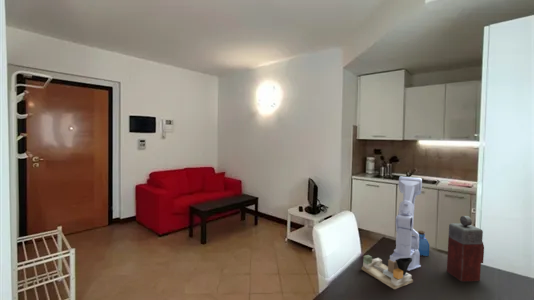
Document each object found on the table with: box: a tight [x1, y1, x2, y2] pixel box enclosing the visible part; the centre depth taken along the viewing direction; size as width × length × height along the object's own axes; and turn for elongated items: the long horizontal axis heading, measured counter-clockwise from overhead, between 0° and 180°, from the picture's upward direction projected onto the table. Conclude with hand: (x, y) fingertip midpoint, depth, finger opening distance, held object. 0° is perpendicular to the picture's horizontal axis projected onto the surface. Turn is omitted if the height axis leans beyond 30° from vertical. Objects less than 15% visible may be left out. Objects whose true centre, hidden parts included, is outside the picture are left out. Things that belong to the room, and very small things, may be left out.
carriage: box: [383, 259, 398, 278], centre depth 118 cm, size 7×5×6 cm
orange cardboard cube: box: [393, 268, 403, 279], centre depth 113 cm, size 3×2×3 cm
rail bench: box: [361, 254, 414, 290], centre depth 121 cm, size 12×18×6 cm, turn 27°
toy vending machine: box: [446, 215, 485, 282], centre depth 121 cm, size 9×11×28 cm
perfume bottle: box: [417, 230, 430, 257], centre depth 145 cm, size 6×6×12 cm
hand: (402, 273), depth 115 cm, fingers closed
